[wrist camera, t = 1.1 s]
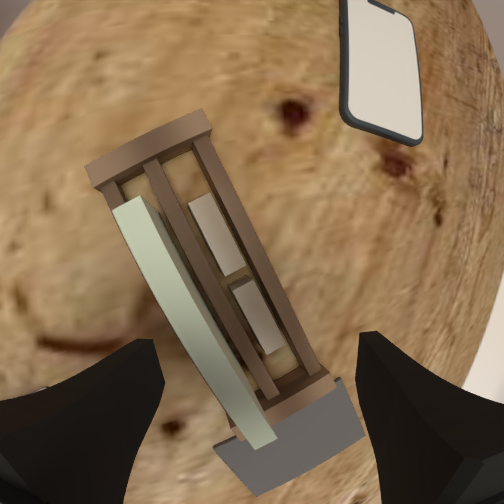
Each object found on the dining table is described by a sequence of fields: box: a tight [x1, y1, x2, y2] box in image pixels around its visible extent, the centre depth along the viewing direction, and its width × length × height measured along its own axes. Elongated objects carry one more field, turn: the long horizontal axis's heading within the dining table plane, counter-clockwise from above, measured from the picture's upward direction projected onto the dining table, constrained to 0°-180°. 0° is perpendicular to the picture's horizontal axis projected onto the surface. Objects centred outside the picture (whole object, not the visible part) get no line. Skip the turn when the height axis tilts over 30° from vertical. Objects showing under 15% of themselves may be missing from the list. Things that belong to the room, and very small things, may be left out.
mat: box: [213, 377, 365, 497], centre depth 24 cm, size 12×8×1 cm, turn 117°
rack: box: [84, 109, 337, 442], centre depth 20 cm, size 8×21×3 cm, turn 27°
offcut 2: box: [227, 275, 286, 355], centre depth 21 cm, size 2×5×2 cm, turn 27°
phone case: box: [339, 0, 423, 147], centre depth 24 cm, size 9×2×16 cm
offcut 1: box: [187, 193, 246, 276], centre depth 21 cm, size 2×5×2 cm, turn 26°
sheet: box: [112, 195, 278, 450], centre depth 17 cm, size 1×12×10 cm, turn 27°
